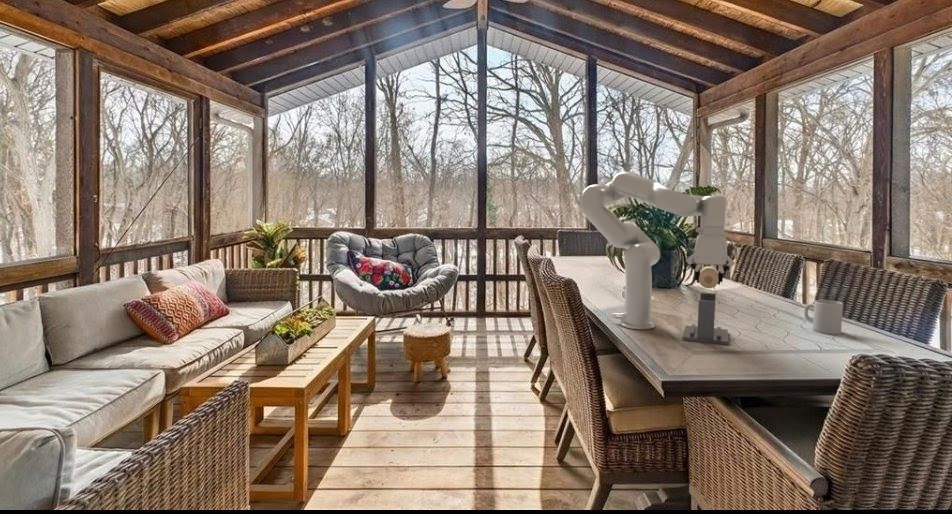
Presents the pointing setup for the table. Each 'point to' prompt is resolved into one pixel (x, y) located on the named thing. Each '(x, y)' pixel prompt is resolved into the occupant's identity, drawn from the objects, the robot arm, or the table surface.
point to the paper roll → (708, 277)
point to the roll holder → (706, 323)
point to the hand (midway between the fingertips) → (708, 282)
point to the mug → (826, 316)
